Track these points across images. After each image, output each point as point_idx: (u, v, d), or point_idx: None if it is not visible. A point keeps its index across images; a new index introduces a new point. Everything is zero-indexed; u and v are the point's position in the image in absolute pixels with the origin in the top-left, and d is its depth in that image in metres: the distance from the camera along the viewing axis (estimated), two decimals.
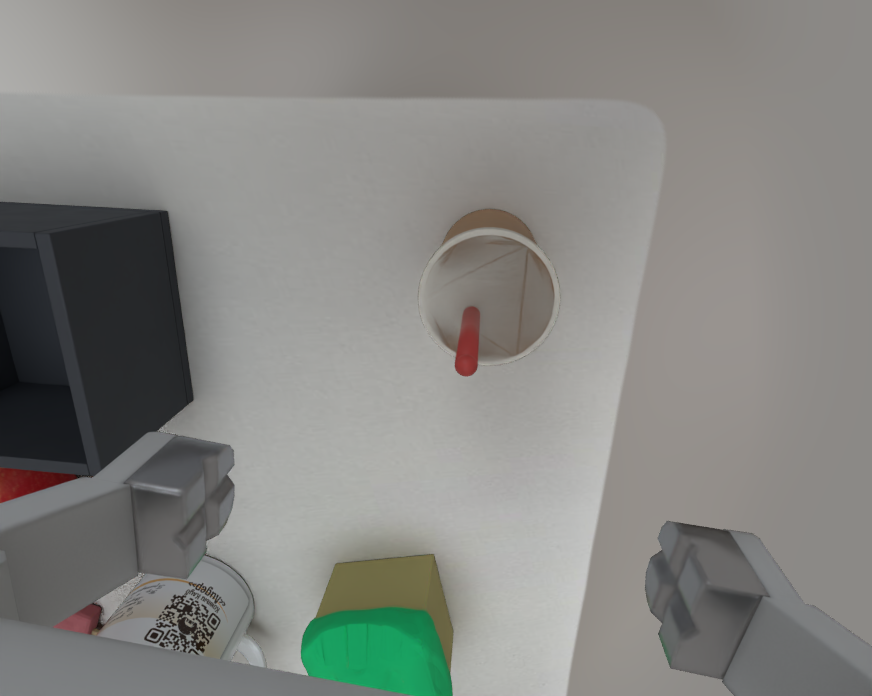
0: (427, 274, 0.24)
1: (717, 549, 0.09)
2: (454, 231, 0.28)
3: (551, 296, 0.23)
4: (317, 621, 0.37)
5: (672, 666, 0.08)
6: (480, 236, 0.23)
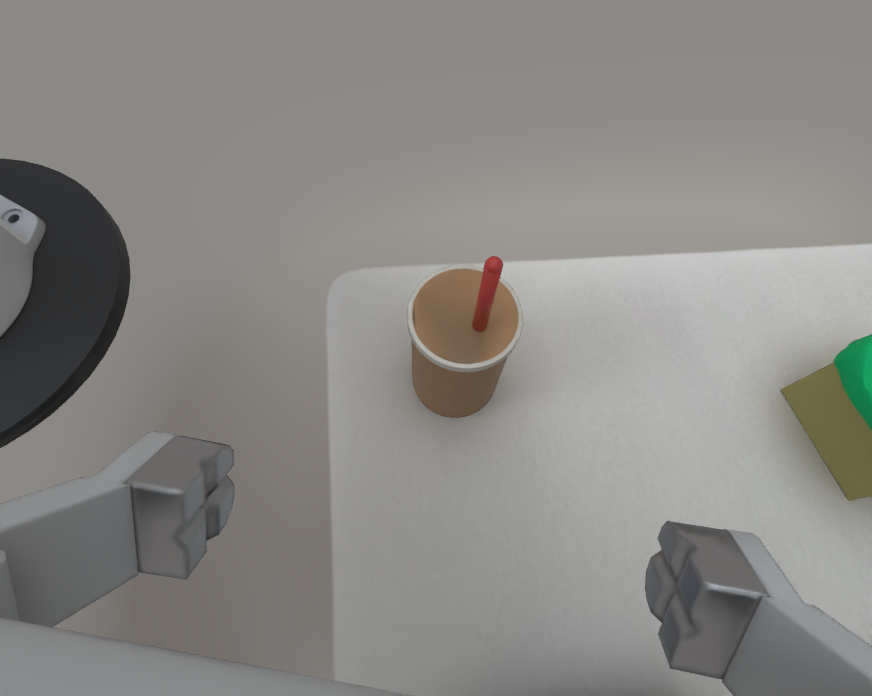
0: (451, 362, 0.28)
1: (717, 549, 0.09)
2: (425, 381, 0.33)
3: (453, 271, 0.30)
4: None
5: (672, 666, 0.08)
6: (414, 326, 0.29)
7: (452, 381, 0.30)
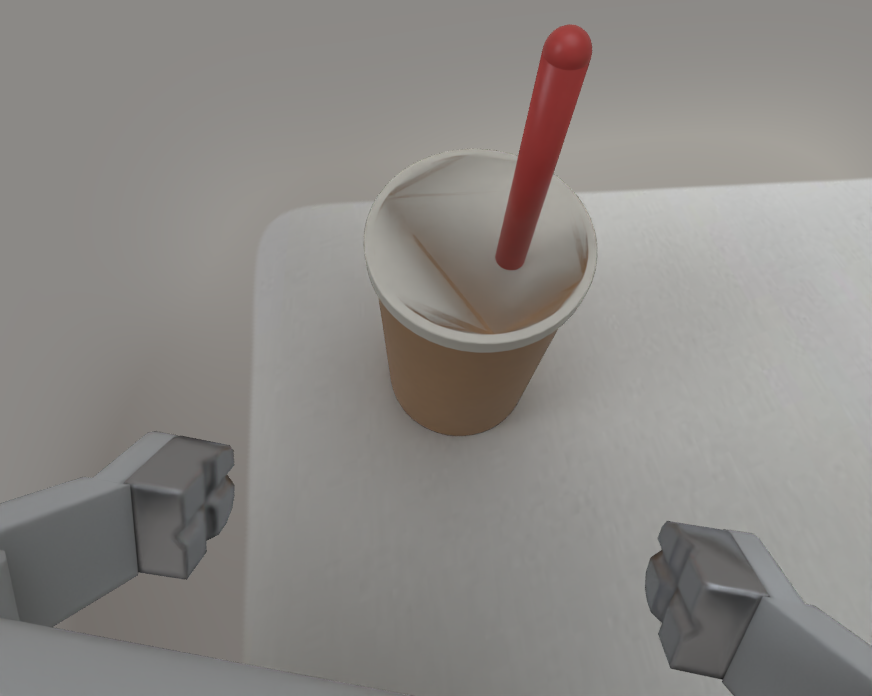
0: (453, 332, 0.13)
1: (717, 549, 0.09)
2: (406, 374, 0.18)
3: (456, 159, 0.15)
4: None
5: (672, 666, 0.08)
6: (377, 260, 0.14)
7: (456, 373, 0.16)
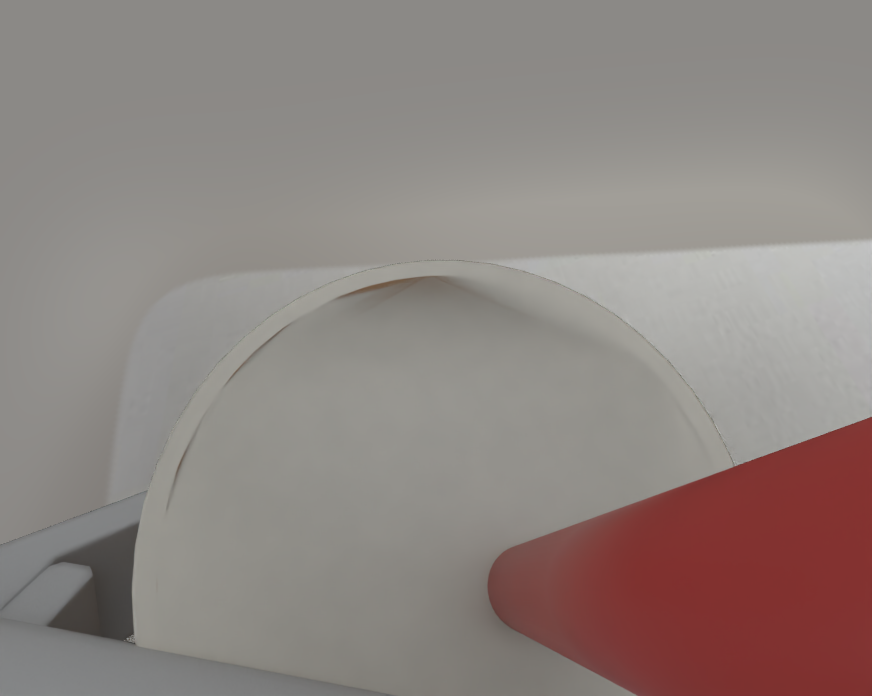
0: None
1: None
2: None
3: (398, 289, 0.07)
4: None
5: None
6: (161, 602, 0.05)
7: None
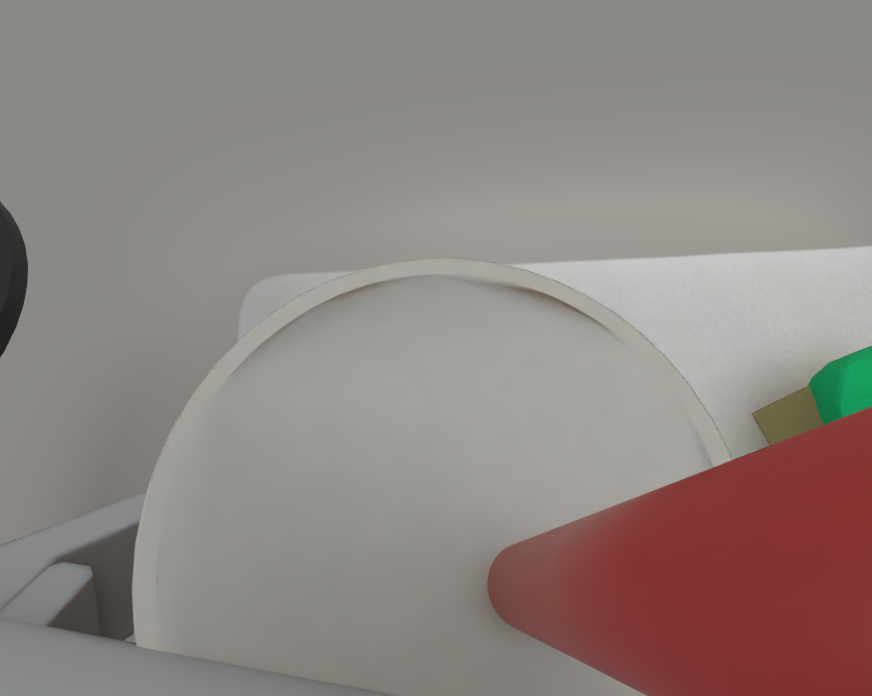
0: None
1: None
2: None
3: (398, 287, 0.07)
4: None
5: None
6: (161, 600, 0.05)
7: None
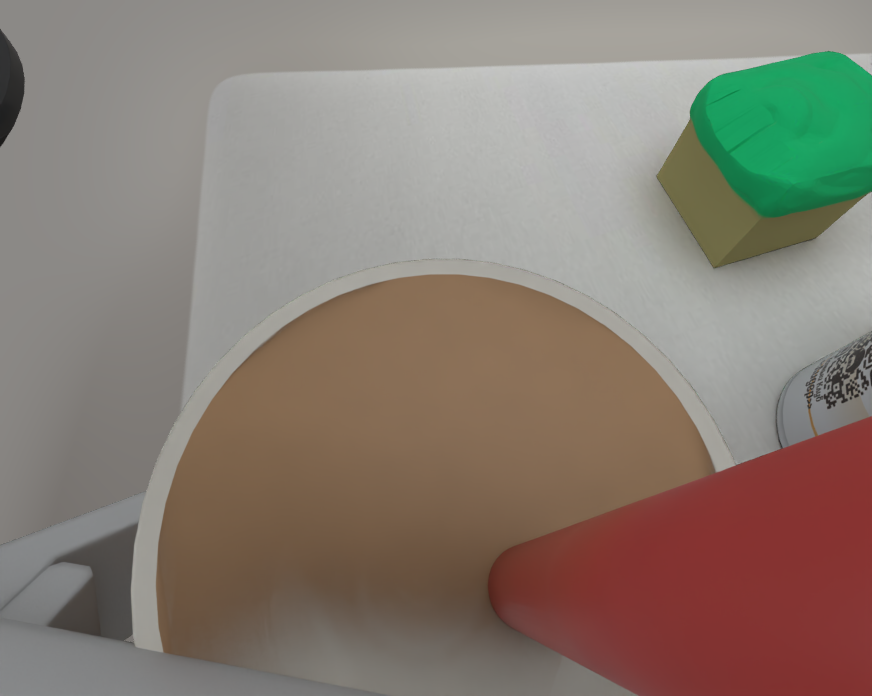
0: None
1: None
2: None
3: (398, 287, 0.07)
4: (753, 199, 0.30)
5: None
6: (160, 602, 0.05)
7: None
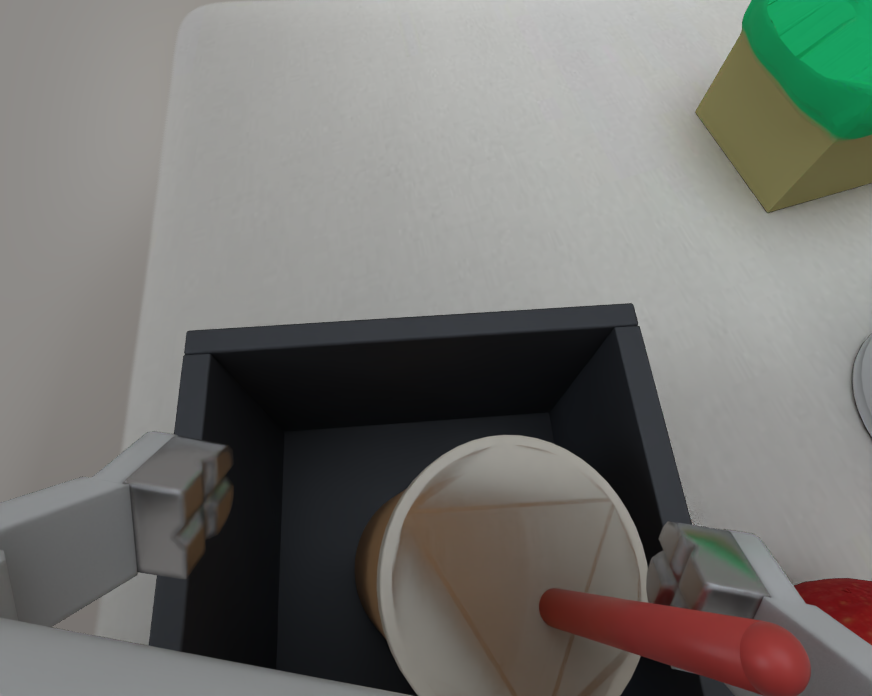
0: None
1: (718, 549, 0.09)
2: None
3: (492, 452, 0.13)
4: (826, 116, 0.24)
5: (673, 666, 0.08)
6: (397, 617, 0.11)
7: None
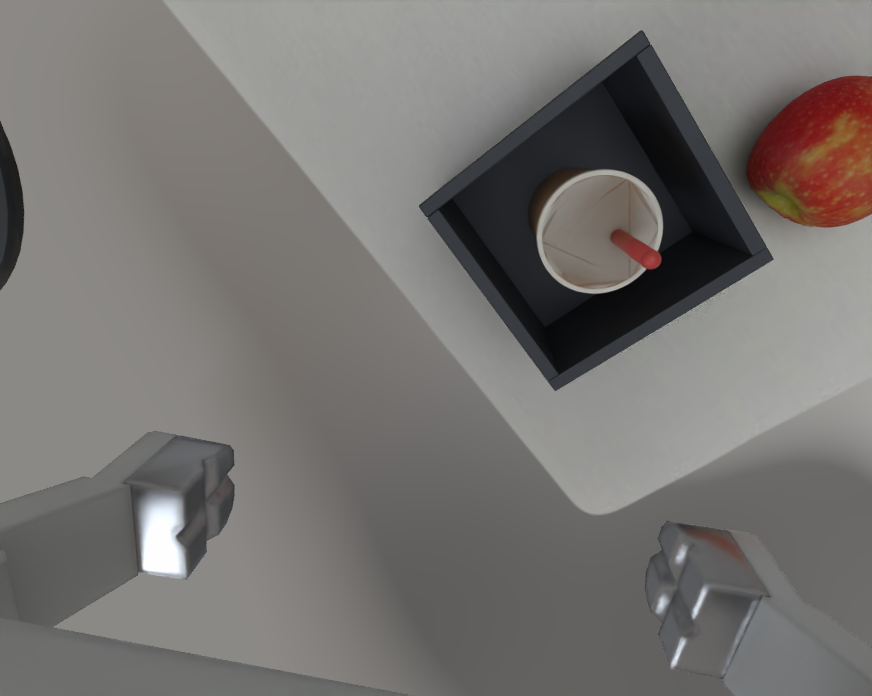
0: (609, 287, 0.28)
1: (717, 549, 0.09)
2: None
3: (563, 194, 0.27)
4: None
5: (672, 666, 0.08)
6: (558, 274, 0.28)
7: None
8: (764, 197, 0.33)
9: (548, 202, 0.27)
